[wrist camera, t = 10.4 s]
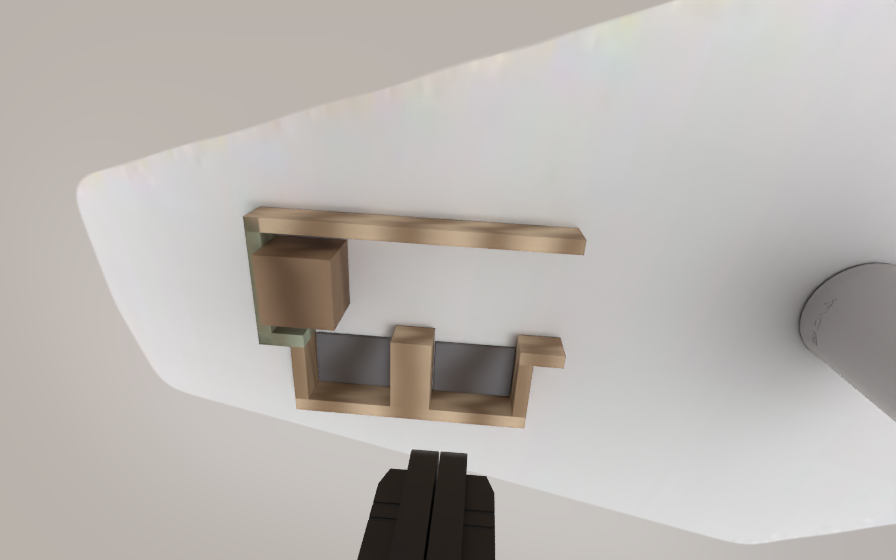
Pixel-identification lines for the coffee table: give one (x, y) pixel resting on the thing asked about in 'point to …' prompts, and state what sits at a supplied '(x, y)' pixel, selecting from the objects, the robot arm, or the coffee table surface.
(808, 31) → the coffee table surface
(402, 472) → the robot arm
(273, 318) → the walnut block
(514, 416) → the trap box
